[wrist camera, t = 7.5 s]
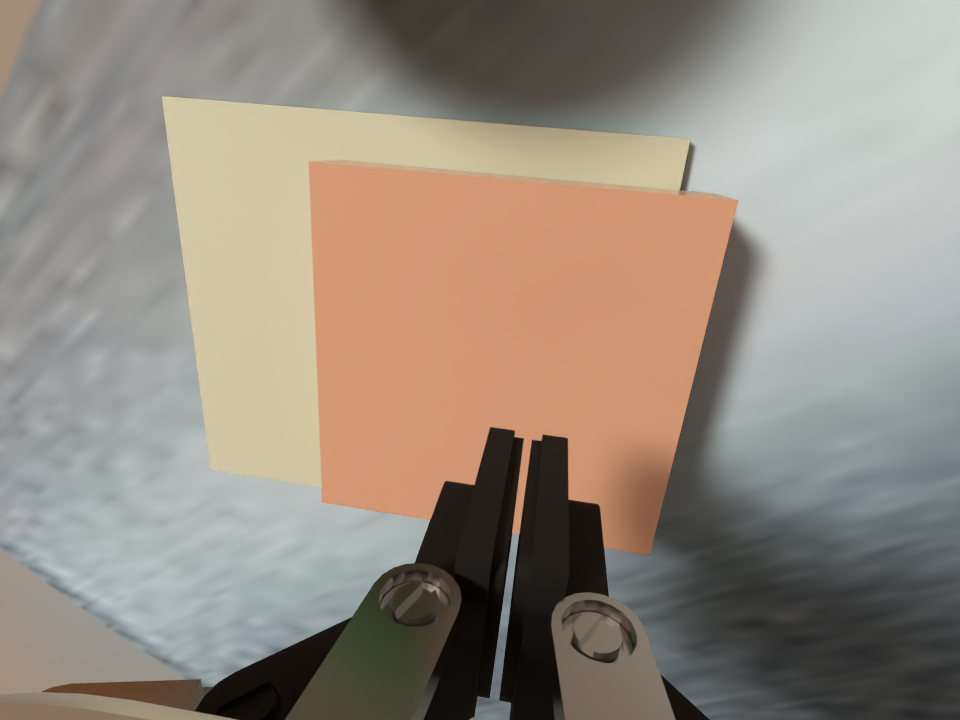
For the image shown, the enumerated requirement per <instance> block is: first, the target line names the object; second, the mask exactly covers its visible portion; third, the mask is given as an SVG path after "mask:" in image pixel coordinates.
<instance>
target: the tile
mask: <svg viewBox="0 0 960 720" xmlns="http://www.w3.org/2000/svg"><path fill="white" fill-rule="evenodd" d="M309 182H310V208H311V233H312V258H313V283H314V308H315V333H316V358H317V384H318V409H319V434H320V459H321V484H322V502H323V503H329V504H335V505H342V506H348V507H354V508H360V509H366V510H373V511H379V512H385V513H391V514H397V515H403V516H410V517H416V518H422V519H428V520H431V517H432V514H433V512H434V509H435V506H436V503H437V501H438V498H439V495H440V492H441V490H442V487H443V484H444V482H445V481H451V482H458V483H464V484H471V485H475V481H476V478H477V474H478V470H479V466H480V463H481V459H482V455H483V452H484V448H485V444H486V441H487V437H488V433H489V429H490V427H494V428H501V429H508V430H515V436H514V437H518V438H524V442H523V450H522V458H521V466H520V474H519V482H518V490H517V498H516V506H515V514H514V522H513V530H512V533H514V534H520V526H521V518H522V511H523V503H524V496H525V488H526V481H527V473H528V465H529V458H530V450H531V443H532V440H539V441H542V435H543V434H544V435H551V436H558V437H565V438H568V494H569V500H574V501H581V502H587V503H594V504H598V505H599V506H600V512H601V523H602V533H603V543H604V548H607V549H613V550H619V551H626V552H632V553H638V554H644V555H650V552H651V548H652V544H653V540H654V536H655V532H656V528H657V524H658V520H659V516H660V512H661V508H662V504H663V500H664V496H665V492H666V488H667V484H668V480H669V476H670V472H671V468H672V464H673V460H674V456H675V452H676V448H677V444H678V440H679V436H680V432H681V428H682V424H683V420H684V416H685V412H686V408H687V404H688V400H689V396H690V392H691V388H692V384H693V380H694V376H695V372H696V368H697V364H698V360H699V356H700V352H701V348H702V344H703V340H704V336H705V332H706V328H707V324H708V320H709V316H710V312H711V308H712V304H713V299H714V295H715V291H716V287H717V283H718V279H719V275H720V271H721V267H722V263H723V259H724V255H725V251H726V247H727V243H728V239H729V235H730V231H731V227H732V223H733V219H734V215H735V211H736V207H737V203H738V200H735V199H732V198H728V197H725V196H722V195H718V194H715V193H705V192H694V191H683V190H672V189H661V188H650V187H639V186H628V185H617V184H605V183H594V182H583V181H572V180H561V179H550V178H539V177H528V176H517V175H506V174H495V173H484V172H472V171H461V170H450V169H439V168H428V167H417V166H406V165H395V164H384V163H373V162H362V161H351V160H325V161H309Z"/></svg>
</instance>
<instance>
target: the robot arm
mask: <svg viewBox="0 0 960 720" xmlns="http://www.w3.org/2000/svg"><path fill="white" fill-rule="evenodd" d="M514 436H515V430H508V429H501V428H494V427H490V429H489V433H488V437H487V441H486V444H485V448H484V452H483V455H482V459H481V463H480V466H479V470H478V474H477V478H476V481H475V485H471V484H464V483H458V482H451V481H445V482H444V484H443V487H442V490H441V492H440V495H439V498H438V501H437V503H436V506H435V509H434V512H433V514H432V517H431V520H430V523H429V525H428V528H427V531H426V534H425V536H424V539H423V542H422V545H421V547H420V550H419V553H418V556H417V558H416V561H415V563H414V564H405V565H401V566H398V567H395V568H393V569H391V570H389V571H388V572H386V573H384V574H383V575H382V576H381V577H380V578H379V579H378V580H377V581H376V582H375V583H374V585H373V586H372V588H371V589H370V591H369V592H368V594H367V595H366V597H365V598H364V600H363V601H362V603H361V604H360V606H359V608H358V609H357V611H356V612H355V614H354V615H353V617H351V618H349V619H347V620H345V621H343V622H341V623H339V624H336V625H334V626H332V627H330V628H328V629H326V630H324V631H322V632H320V633H317V634H315V635H313V636H311V637H309V638H307V639H305V640H303V641H300V642H298V643H296V644H294V645H292V646H290V647H288V648H286V649H283V650H281V651H279V652H277V653H275V654H273V655H271V656H269V657H266V658H264V659H262V660H260V661H258V662H256V663H254V664H252V665H250V666H247V667H245V668H243V669H241V670H239V671H237V672H235V673H233V674H231V675H230V676H228V677H227V678H225V679H223V680H222V681H220V682H218V683H217V684H216V685H215V686H214V687H202V683H201V679H195V680H164V681H135V682H105V683H73V684H66V685H61V686H55V687H51V688H49V689H47V690H44V691H42V692H33V693H14V694H0V720H469V719H470V718H472V717H474V715H475V709H476V703H477V697H478V696H480V697H485V698H489V697H490V690H491V683H492V676H493V669H494V662H495V654H496V647H497V640H498V633H499V625H500V618H501V611H502V604H503V596H504V589H505V582H506V575H507V567H508V560H509V553H510V545H511V538H512V530H513V522H514V514H515V506H516V498H517V490H518V482H519V474H520V466H521V458H522V450H523V442H524V438H518V437H514ZM500 701H505V702H510V703H511V711H510V720H709V719H708V718H707V717H706V716H705V715H704V714H703V713H702V712H701V711H700V710H698V709H697V708H696V707H695V706H694V705H693V704H692V703H691V702H690V701H689V700H688V699H687V698H685V697H684V696H683V695H682V694H681V693H680V692H679V691H678V690H677V689H676V688H675V687H673V686H672V685H671V684H670V683H669V682H668V681H667V680H666V679H665V678H664V677H663V676H662V675H660V672H659V669H658V666H657V664H656V661H655V658H654V655H653V652H652V649H651V646H650V643H649V640H648V637H647V634H646V631H645V630H644V628H643V626H642V624H641V622H640V620H639V619H638V618H637V617H636V615H635V614H634V613H633V612H632V611H631V610H630V609H629V608H627V607H626V606H625V605H623V604H622V603H620V602H619V601H617V600H615V599H613V598H610V597H609V595H608V585H607V574H606V564H605V554H604V543H603V533H602V523H601V512H600V506H599V505H598V504H594V503H587V502H581V501H574V500H569V494H568V438H565V437H558V436H551V435H544V434H543V435H542V441H539V440H532V443H531V450H530V458H529V465H528V473H527V481H526V488H525V496H524V503H523V511H522V518H521V526H520V534H519V541H518V549H517V557H516V565H515V574H514V582H513V591H512V599H511V607H510V616H509V624H508V632H507V641H506V649H505V657H504V666H503V674H502V683H501V691H500Z"/></svg>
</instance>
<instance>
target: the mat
mask: <svg viewBox="0 0 960 720" xmlns="http://www.w3.org/2000/svg"><path fill="white" fill-rule="evenodd" d="M162 101H163V109H164V116H165V124H166V132H167V139H168V147H169V155H170V162H171V170H172V178H173V185H174V193H175V201H176V208H177V216H178V224H179V231H180V239H181V247H182V254H183V262H184V270H185V277H186V285H187V293H188V300H189V308H190V316H191V323H192V331H193V339H194V346H195V354H196V362H197V369H198V377H199V385H200V392H201V400H202V408H203V415H204V423H205V431H206V438H207V446H208V454H209V461H210V469H211V470H217V471H223V472H229V473H235V474H242V475H248V476H254V477H260V478H267V479H273V480H279V481H286V482H292V483H298V484H304V485H311V486H317V487H322V484H321V459H320V434H319V409H318V384H317V358H316V333H315V308H314V283H313V258H312V233H311V208H310V182H309V161H325V160H351V161H362V162H373V163H384V164H395V165H406V166H417V167H428V168H439V169H450V170H461V171H472V172H484V173H495V174H506V175H517V176H528V177H539V178H550V179H561V180H572V181H583V182H594V183H605V184H617V185H628V186H639V187H650V188H661V189H672V190H680V187H681V182H682V177H683V172H684V168H685V163H686V158H687V153H688V149H689V144H690V139H684V138H672V137H659V136H647V135H635V134H622V133H610V132H597V131H585V130H573V129H560V128H548V127H535V126H523V125H511V124H498V123H486V122H473V121H461V120H449V119H436V118H424V117H411V116H399V115H387V114H374V113H362V112H350V111H337V110H325V109H312V108H300V107H288V106H275V105H263V104H250V103H238V102H226V101H213V100H201V99H188V98H176V97H164V96H162Z"/></svg>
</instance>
